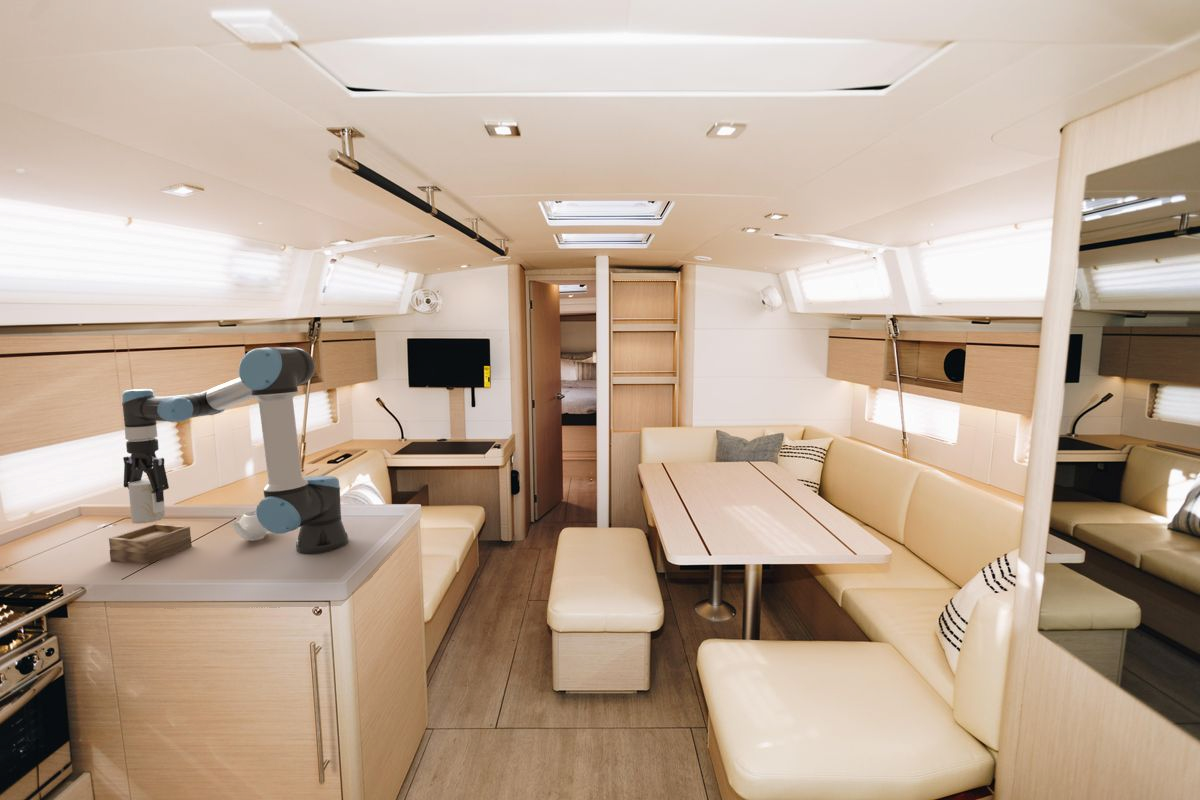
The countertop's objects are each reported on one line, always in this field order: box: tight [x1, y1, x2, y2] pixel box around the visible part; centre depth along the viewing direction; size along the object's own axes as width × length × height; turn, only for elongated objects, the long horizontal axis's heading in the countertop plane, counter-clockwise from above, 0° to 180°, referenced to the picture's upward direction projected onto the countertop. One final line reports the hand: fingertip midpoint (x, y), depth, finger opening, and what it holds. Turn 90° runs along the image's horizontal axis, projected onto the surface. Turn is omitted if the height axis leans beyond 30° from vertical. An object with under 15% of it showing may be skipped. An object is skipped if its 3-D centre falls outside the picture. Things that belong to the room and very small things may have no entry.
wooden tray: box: [108, 523, 192, 553], centre depth 169 cm, size 14×14×4 cm
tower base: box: [109, 537, 193, 564], centre depth 170 cm, size 14×14×4 cm
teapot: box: [231, 510, 269, 542], centre depth 182 cm, size 10×20×9 cm, turn 178°
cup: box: [128, 478, 166, 524], centre depth 168 cm, size 8×8×12 cm
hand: (148, 510), depth 168 cm, fingers closed on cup, 8 cm apart
